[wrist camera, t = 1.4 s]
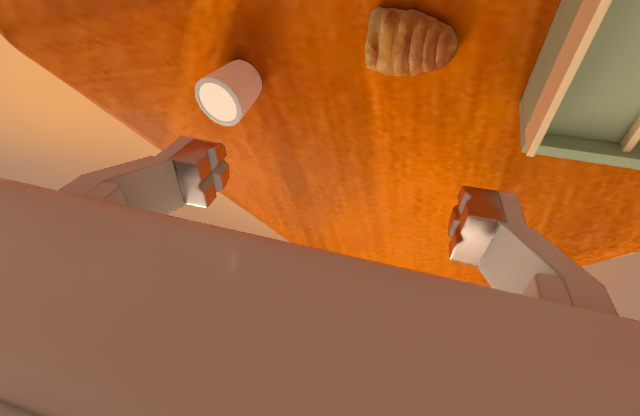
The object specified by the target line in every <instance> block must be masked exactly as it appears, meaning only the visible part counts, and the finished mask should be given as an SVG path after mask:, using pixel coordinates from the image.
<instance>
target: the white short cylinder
mask: <svg viewBox="0 0 640 416" xmlns="http://www.w3.org/2000/svg"><path fill="white" fill-rule="evenodd" d="M261 90H262V80H261V77H260V75H259V73H258V72H257V70H256V69H255V68H254V66H252V65H251V64H249V63H248V62H247V61H243V60H240V59H239V60H234V61H231V62H230V63H228V64H226V65H224V66H223V67H221V68H219V69H217V70H215V71H214V72H212V73H210V74H208V75H207V76H205V77H203V78H201V79H200V80H199V81H198V82H197V83H196V87H195V96H196V100H197V102H198V104H199V106H200V108H201V110H202V111H203V112H204V113H205V114H206V115H207V116H208V117H209V118H210V119H211V120H213V121H214V122H216V123H217V124H221V125H224V126H234V125H235V124H237V123H238V122H239V121H240V120H241V119H242V117H243V116H244V115H245V113H246V112H247V111H248V109H249V108H250V107H251V105H252V104H253V103H254V101H255V100H256V98H257V97H258V96H259V94H260V93H261Z"/></svg>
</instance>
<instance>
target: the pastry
mask: <svg viewBox="0 0 640 416" xmlns="http://www.w3.org/2000/svg"><path fill="white" fill-rule="evenodd" d="M457 46H458V38H457V36H456V34H455V32H454V30H453V28H452V27H451V26H450V25H447V24H445V23H443V22H440V21H438V20H437V19H436V18H435V17H431V16H428V15H426V14H425V13H424V12H419V11H417V10H413V9H410V10H401V9H396V8H386V9H385V8H383V7H377V8H375V9H374V10H373V11H372V14H371V16H370V20H369V28H368V33H367V40H366V47H365V57H366V59H365V61H366V65H367V67H368V68H369V69H370V70H375V71H378V72H380V73H383V74H385V75H388V76H415V75H417V74H423V73H425V72H428V71H432V70H437V69H441V68H443V67H444V66H445V65H446V64H448V63H449V62H450V61H451V59H452V58H453V57H454V55H455V53H456V51H457Z"/></svg>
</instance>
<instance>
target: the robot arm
mask: <svg viewBox="0 0 640 416" xmlns="http://www.w3.org/2000/svg"><path fill="white" fill-rule="evenodd" d="M226 155H227V154H226V149H225V146H224V145H223V144H222V143H217V142H212V141H207V140H202V139H196V138H192V137H180V138H179V139H178V140H176V141H175V142H174V143H172V144H171V145H170V146H168V147H167V148H166V149H164V150H163V151H162V152H160V153H159V154H158V155H157V156H155V157H154V156H149V157H146V158H142V159H138V160H135V161H131V162H127V163H124V164H120V165H117V166H113V167H109V168H106V169H102V170H99V171H95V172H91V173H87V174H84V175H81V176H79V177H78V178H76V179H75V180H73V181H72V182H70V183H69V184H67V185H66V186H64V187H63V188H61V189H60V190H58V191H57V190H52V189H48V188H44V187H39V186H35V185H30V184H26V183H22V182H17V181H13V180H8V179H4V178H0V416H640V321H637V320H633V319H628V318H624V317H619V315H618V313H617V311H616V309H615V307H614V305H613V303H612V301H611V299H610V297H609V295H608V293H607V290H606V288H605V286H604V285H603V284H601V283H600V282H599V281H597V280H596V279H595V278H594V277H593V276H591V275H590V274H589V273H588V272H586V271H585V270H584V269H583V268H582V267H580V266H579V265H578V264H577V263H575V262H574V261H573V260H572V259H570V258H569V257H568V256H567V255H565V254H564V253H563V252H562V251H560V250H559V249H558V248H557V247H555V246H554V245H553V244H552V243H551V242H549V241H548V240H547V239H546V238H544V237H543V236H542V235H541V234H539V233H538V232H537V231H536V230H534V229H533V228H529V227H527V224H526V221H525V218H524V215H523V212H522V209H521V206H520V203H519V200H518V197H517V195H516V194H515V193H509V192H502V191H494V190H488V189H481V188H474V187H468V186H462V188H461V189H460V192H459V194H458V205H457V206H455V207H453V210H452V213H451V216H450V220H449V226H448V235H449V236H450V238H451V241H450V243H449V258H450V260H452V261H456V262H460V263H464V264H468V265H472V266H477V267H478V269H479V270H480V272H481V273H482V274H483V276H484V277H485V279H486V280H487V281H488V283H489V284H490V286H491V287H492V288H490V287H486V286H481V285H477V284H473V283H468V282H464V281H459V280H455V279H450V278H446V277H441V276H437V275H432V274H428V273H423V272H419V271H414V270H410V269H406V268H401V267H397V266H392V265H388V264H383V263H379V262H374V261H370V260H365V259H361V258H356V257H352V256H347V255H343V254H339V253H334V252H330V251H325V250H321V249H316V248H312V247H307V246H303V245H298V244H294V243H289V242H284V241H280V240H276V239H272V238H267V237H263V236H258V235H254V234H249V233H245V232H240V231H236V230H231V229H227V228H222V227H218V226H213V225H209V224H205V223H200V222H196V221H191V220H187V219H182V218H178V217H173V216H169V215H167V214H169V213H171V212H173V211H175V210H177V209H179V208H181V207H182V206H184V205H185V204H188V205H193V206H199V207H204V208H207V207H208V206H209V205H210V204H211V203H212V201H213V200H214V199H215V198H216V192H218V191H221V190H223V189H224V187H225V186H226V185H227V182H228V179H229V166H228V164H227V163H226V162H225V161H224V158H225V157H226Z"/></svg>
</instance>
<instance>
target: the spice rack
mask: <svg viewBox="0 0 640 416" xmlns="http://www.w3.org/2000/svg"><path fill="white" fill-rule="evenodd" d="M519 109H520V132H521V152H526V156H530V157H534V155H535V154H539V155H546V156H553V157H559V158H566V159H572V160H579V161H585V162H592V163H599V164H605V165H612V166H618V167H625V168H632V169H638V170H640V0H561V2H560V5H559V7H558V9H557V12H556V14H555V17H554V19H553V22H552V24H551V27H550V29H549V32H548V34H547V37H546V39H545V42H544V44H543V47H542V49H541V51H540V54H539V56H538V59H537V61H536V64H535V66H534V69H533V71H532V74H531V76H530V79H529V81H528V84H527V86H526V88H525V91H524V93H523V96H522V98H521V101H520V103H519Z"/></svg>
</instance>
